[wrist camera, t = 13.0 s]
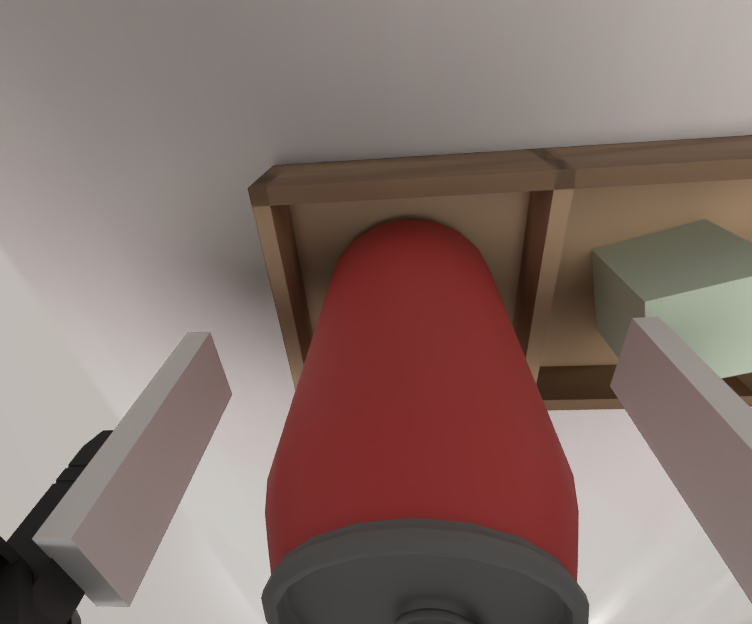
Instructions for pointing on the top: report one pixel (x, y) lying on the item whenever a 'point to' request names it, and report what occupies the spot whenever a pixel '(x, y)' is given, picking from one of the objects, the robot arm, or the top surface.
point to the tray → (507, 234)
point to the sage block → (681, 291)
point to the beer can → (419, 453)
